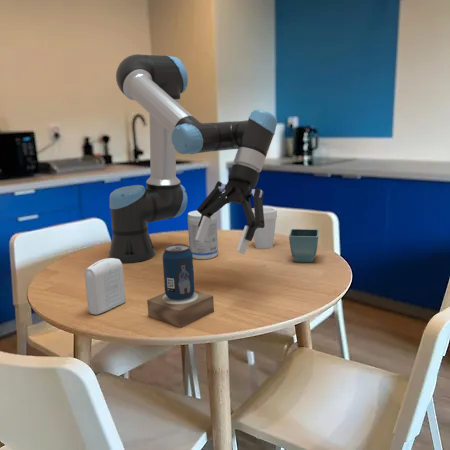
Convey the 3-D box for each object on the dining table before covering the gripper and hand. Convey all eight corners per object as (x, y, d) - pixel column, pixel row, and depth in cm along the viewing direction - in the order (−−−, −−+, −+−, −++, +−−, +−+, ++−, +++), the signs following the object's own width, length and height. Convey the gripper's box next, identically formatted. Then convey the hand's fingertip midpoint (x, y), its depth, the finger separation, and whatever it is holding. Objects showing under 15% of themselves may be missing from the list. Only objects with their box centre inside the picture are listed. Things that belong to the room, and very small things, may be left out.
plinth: (148, 315, 114) (147, 298, 113) (181, 301, 122) (180, 285, 121) (181, 327, 107) (179, 309, 106) (214, 311, 115) (213, 294, 114)
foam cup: (278, 249, 164) (277, 212, 161) (251, 250, 164) (250, 213, 161) (275, 242, 173) (275, 206, 170) (250, 243, 173) (249, 207, 170)
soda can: (176, 289, 118) (173, 242, 116) (200, 293, 115) (197, 245, 112) (159, 299, 113) (155, 249, 110) (183, 303, 109) (180, 253, 106)
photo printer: (116, 299, 126) (112, 253, 123) (128, 302, 123) (124, 255, 120) (85, 313, 117) (80, 264, 114) (98, 316, 115) (92, 267, 112)
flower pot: (318, 264, 146) (318, 236, 144) (289, 264, 148) (288, 235, 146) (318, 256, 155) (318, 229, 153) (291, 255, 157) (290, 228, 154)
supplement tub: (191, 252, 165) (188, 210, 162) (218, 251, 165) (216, 209, 162) (188, 260, 156) (186, 216, 152) (218, 259, 156) (216, 215, 152)
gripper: (294, 180, 119) (267, 261, 117) (217, 169, 135) (191, 240, 132) (280, 168, 113) (251, 253, 111) (202, 157, 129) (174, 232, 126)
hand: (219, 246), depth 121 cm, fingers open, 13 cm apart
